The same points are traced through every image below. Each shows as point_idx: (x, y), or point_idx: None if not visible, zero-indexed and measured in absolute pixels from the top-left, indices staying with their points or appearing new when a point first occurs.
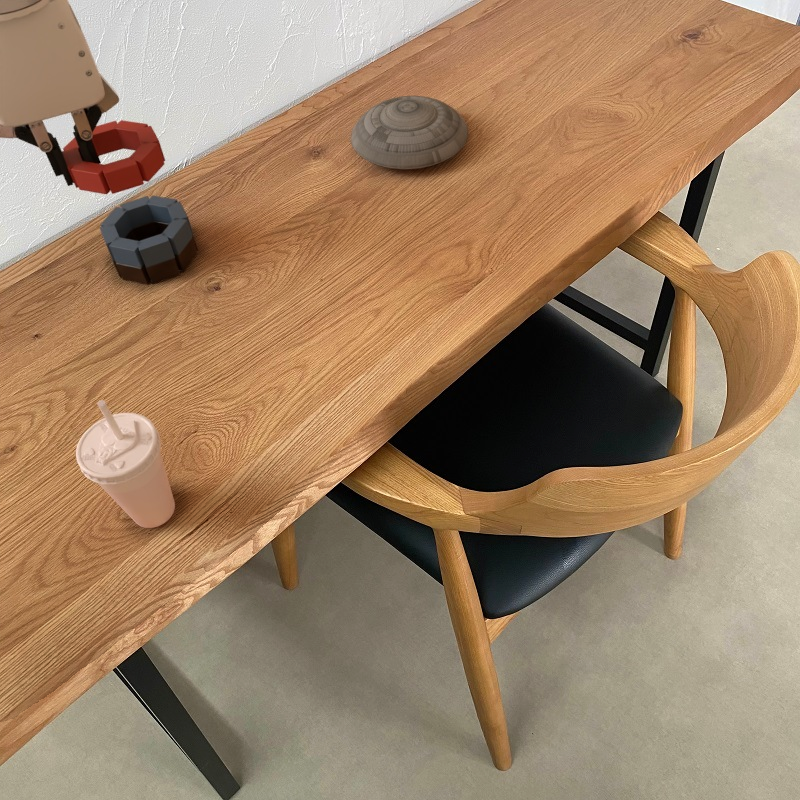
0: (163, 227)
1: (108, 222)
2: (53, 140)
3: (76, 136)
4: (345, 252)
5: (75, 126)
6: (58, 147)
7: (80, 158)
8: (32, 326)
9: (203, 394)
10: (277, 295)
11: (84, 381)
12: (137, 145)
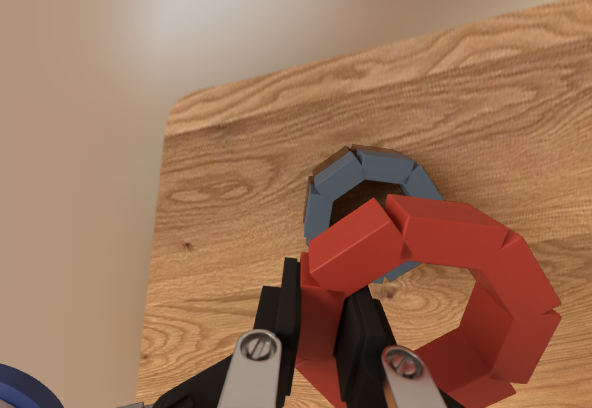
0: (396, 184)
1: (327, 191)
2: (282, 404)
3: (357, 368)
4: None
5: (374, 392)
6: (288, 386)
7: (332, 343)
8: (185, 227)
9: (308, 393)
10: (433, 338)
11: (219, 328)
12: (480, 282)
